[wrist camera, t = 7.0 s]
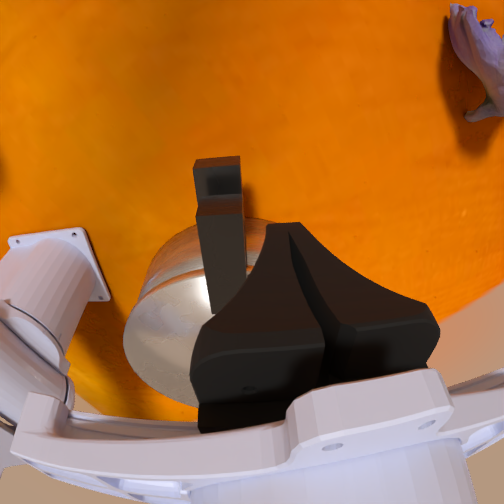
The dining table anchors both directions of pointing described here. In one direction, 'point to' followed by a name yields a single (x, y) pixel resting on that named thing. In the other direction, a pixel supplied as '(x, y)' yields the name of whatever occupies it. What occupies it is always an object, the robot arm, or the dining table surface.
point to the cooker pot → (187, 241)
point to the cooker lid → (188, 301)
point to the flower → (479, 57)
